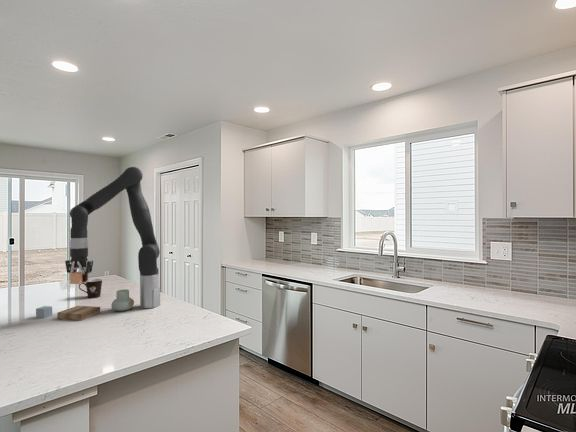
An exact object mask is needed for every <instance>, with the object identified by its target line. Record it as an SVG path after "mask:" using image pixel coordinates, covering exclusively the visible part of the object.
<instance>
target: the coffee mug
mask: <svg viewBox="0 0 576 432" xmlns="http://www.w3.org/2000/svg"><path fill="white" fill-rule="evenodd" d="M81 285H85V287H86V290H84V289H82V288H81ZM102 285H103V278H93V279H89V282H86V283H82V284H78V289H79V290H81V291H82V292H84V293H86V294H87V299H97V298H100V297H101V294H102Z"/></svg>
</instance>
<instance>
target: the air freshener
mask: <svg viewBox="0 0 576 432" xmlns="http://www.w3.org/2000/svg"><path fill="white" fill-rule="evenodd" d="M115 297H116V299H114V300H113V301H112V303H111V305H110V306H111V309H112V310H114V311H116V312H126V311H129V310H130V309H132V308H133V307H134V305H135V304H134V303H135V300H134V299H133V298H131V297H130V290H129V289H127V288H125V289H118V290H116V294H115Z"/></svg>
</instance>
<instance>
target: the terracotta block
mask: <svg viewBox="0 0 576 432" xmlns="http://www.w3.org/2000/svg"><path fill="white" fill-rule="evenodd" d="M82 275H83V274H82V271H81V270H80V271H78V270H77V271H76V272H74V273H69V284H70V285H79V284H81V285H83V284H82V283H85V284H86V282H82ZM89 275H90V273H88V280H87V282H89V280H90V279H89Z"/></svg>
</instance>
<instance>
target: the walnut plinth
mask: <svg viewBox="0 0 576 432" xmlns="http://www.w3.org/2000/svg"><path fill="white" fill-rule="evenodd" d="M98 314H101V306H92V305H75V306H72V307H70V308H67V309H64V310H61V311H59V312H57V315H56V316H57V318H56V319H57V320H68V321H69V320H70V321H84V320H85V319H89V318H91V317H93V316H96V315H98Z"/></svg>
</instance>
